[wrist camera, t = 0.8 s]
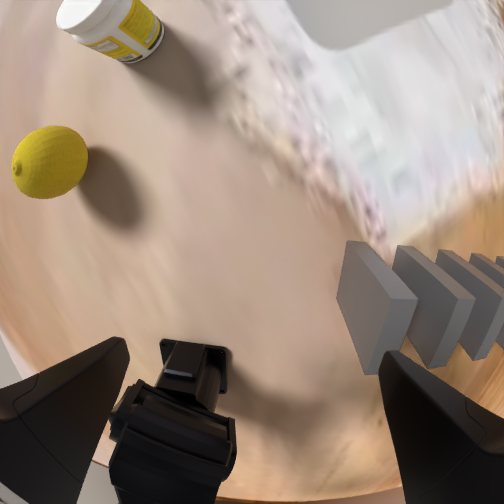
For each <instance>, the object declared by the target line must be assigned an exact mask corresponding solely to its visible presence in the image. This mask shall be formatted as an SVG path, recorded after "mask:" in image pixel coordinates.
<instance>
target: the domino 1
mask: <svg viewBox="0 0 504 504" xmlns="http://www.w3.org/2000/svg"><path fill="white" fill-rule="evenodd" d="M336 299H337V302H338V304H339V307H340V309H341V312H342V314H343V317H344V319H345V322H346V325H347V327H348V330H349V333H350V335H351V338H352V341H353V343H354V346H355V349H356V352H357V354H358V357H359V360H360V363H361V366H362V369H363V371H364V374H365V375H373V374H378V369H379V366H380V363H381V361H382V358H383V355H384V353H385V352H386V351H388V350H397V351H399V350H400V347H401V345H402V343H403V340H404V338H405V335H406V333H407V330H408V327H409V325H410V322H411V319H412V317H413V314H414V311H415V308H416V305H417V302H418V298H417V297H416V296H415V295H414V293H413V292H412V291H411V290H410V289H409V288H408V287H407V285H406V284H405V283H404V282H403V281H402V280H401V279H400V278H399V277H398V275H397V274H396V273H395V272H394V271H393V270H392V269H391V268H390V267H389V266H388V265H387V264H386V263H385V261H384V260H383V259H382V258H381V257H380V256H379V255H378V254H377V253H376V252H375V251H374V250H373V249H372V248H371V247H370V246H369V245H368V244H367V243H366V242H358V241H347V243H346V249H345V255H344V261H343V266H342V272H341V277H340V282H339V287H338V292H337V297H336Z"/></svg>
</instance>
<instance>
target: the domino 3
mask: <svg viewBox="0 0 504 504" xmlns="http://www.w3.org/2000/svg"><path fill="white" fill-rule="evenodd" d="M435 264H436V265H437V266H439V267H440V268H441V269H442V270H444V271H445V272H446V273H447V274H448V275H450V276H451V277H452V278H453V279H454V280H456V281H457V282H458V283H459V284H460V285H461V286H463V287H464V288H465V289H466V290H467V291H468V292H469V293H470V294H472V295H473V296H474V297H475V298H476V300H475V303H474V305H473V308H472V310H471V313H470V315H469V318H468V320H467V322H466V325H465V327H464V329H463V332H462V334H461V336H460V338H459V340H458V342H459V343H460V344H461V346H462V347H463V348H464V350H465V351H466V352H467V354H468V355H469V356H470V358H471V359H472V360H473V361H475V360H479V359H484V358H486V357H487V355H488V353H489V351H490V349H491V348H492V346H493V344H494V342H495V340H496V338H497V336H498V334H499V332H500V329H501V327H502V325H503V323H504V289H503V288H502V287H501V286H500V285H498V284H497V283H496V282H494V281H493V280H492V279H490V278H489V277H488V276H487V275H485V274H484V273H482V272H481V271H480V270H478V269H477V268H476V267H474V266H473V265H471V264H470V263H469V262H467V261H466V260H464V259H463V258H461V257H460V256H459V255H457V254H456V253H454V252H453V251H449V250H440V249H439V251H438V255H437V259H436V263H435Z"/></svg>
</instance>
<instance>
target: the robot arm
mask: <svg viewBox="0 0 504 504" xmlns="http://www.w3.org/2000/svg"><path fill="white" fill-rule="evenodd" d="M164 343H165V344H166V345H165V344H164ZM160 350H161V355H162V360H163V365H164V367H163V369H162V371H161V373H160V375H159V378H158V380H157V382H156V384H155V386H154V387H153V386H151V385H149V384H147V383H145V381H143V380H141V379H138V381H137V383H136V384H133V385H132V386H128V387H127V389H126V391H125V393H124V395H123V396H122V398H121V400H120V401H119V402H118V403H117V404H116V406H115V407H114V404H115V402H116V400H117V398H118V395H119V392H120V389H121V386H122V383H123V380H124V377H125V374H126V371H127V368H128V365H129V361H130V355H129V352H128V348H127V345H126V341H125V339H124V338H121V337H116V336H114V337H111V338H109V339H107V340H105V341H103V342H101V343H99V344H97V345H95V346H93V347H91V348H89V349H87V350H85V351H83V352H81V353H79V354H77V355H75V356H73V357H70V358H68V359H66V360H64V361H62V362H60V363H58V364H56V365H54V366H52V367H50V368H48V369H46V370H44V371H42V372H40V373H37V374H35V375H33V376H31V377H29V378H27V379H24V380H22V381H20V382H17V383H15V384H12V385H10V386H7V387H4V388H1V389H0V504H76V503H77V500H78V497H79V494H80V491H81V488H82V484H83V482H84V479H85V477H86V474H87V471H88V468H89V466H90V463H91V460H92V458H93V455H94V453H95V450H96V448H97V445H98V443H99V440H100V438H101V435H102V433H103V430H104V428H105V425H106V423H107V421H108V419H109V422H110V424H111V427H110V430H111V433H110V436H109V439H111V440H113V441H115V442H116V443H117V444H116V446H115V449H114V451H113V454H112V456H111V459H110V461H109V474H110V479H111V484H112V485H113V486H114V487H115V491H116V494H117V497H118V500H119V503H118V504H214V502H215V499H216V495H217V492H218V489H219V486H220V484H221V482H224V481H225V480H226V479H227V478H228V476H229V475H230V473H231V471H232V469H233V467H234V464H235V460H236V455H237V445H236V431H235V419H233V418H230V417H228V418H227V417H224V416H221V415H219V414H216V413H214V411H215V407H216V402H217V398H218V394H225V393H226V392H227V350H226V348H224V347H221V346H212V345H204V344H196V343H189V342H182V341H176V340H169V339H162V340H161V341H160ZM219 351H222V352H223V353H221V352H219ZM378 376H379V381H380V387H381V393H382V399H383V405H384V410H385V414H386V418H387V421H388V425H389V429H390V433H391V436H392V440H393V444H394V449H395V453H396V457H397V461H398V466H399V470H400V475H401V480H402V485H403V490H404V496H405V501H406V504H504V419H503V418H501V417H499V416H498V415H496V414H494V413H492V412H490V411H488V410H487V409H485V408H483V407H482V406H480V405H478V404H477V403H475V402H474V401H472V400H471V399H469V398H468V397H465V395H463V394H462V393H460V392H459V391H457V390H456V389H454V388H453V387H451V386H450V385H448V384H447V383H445V382H444V381H442V380H441V379H439V378H438V377H436V376H435V375H433V374H432V373H430V372H429V371H427V370H426V369H424V368H423V367H421V366H420V365H418V364H417V363H415V362H414V361H412V360H411V359H409V358H408V357H406V356H405V355H403V354H402V353H400V352H399V351H397V350H388V351H386V352H385V353H384V355H383V358H382V361H381V363H380V366H379V369H378ZM113 407H114V408H113Z"/></svg>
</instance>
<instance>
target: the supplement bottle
mask: <svg viewBox="0 0 504 504" xmlns="http://www.w3.org/2000/svg"><path fill="white" fill-rule="evenodd" d="M56 23H57V26H58V27H59V28H60V29H62V30H64V31H66V32H68V33H69V34H72V36H73V38H74V39H75V41H77V42H78V43H80V44H82V45H84V46H87V47H89V48H91V49H94V50H96V51H98V52H100V53H103V54H105V55H107V56H109V57H112V58H114V59H116V60H118V61H120V62H123V63H134V62H138V61H140V60H142V59H144V58H146V57H147V56H149V55H150V54H151V53H152V52H153V51H154V50H155V49H156V48H157V47H158V46H159V44H160V43H161V41H162V38H163V34H164V27H163V24H162V22H161V21H160V20H159V18H158V17H157V16H155V15H154V14H153V13H152V12H151V11H150V10H149V9H148V8H147V7H146V6H145V5H144V4H143V3H142V2H141V1H140V0H65V1H64V2H63V3H62V5H61V7H60V9H59V11H58V14H57V18H56Z"/></svg>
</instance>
